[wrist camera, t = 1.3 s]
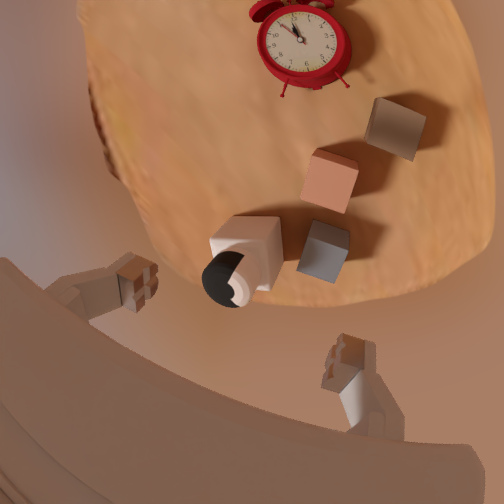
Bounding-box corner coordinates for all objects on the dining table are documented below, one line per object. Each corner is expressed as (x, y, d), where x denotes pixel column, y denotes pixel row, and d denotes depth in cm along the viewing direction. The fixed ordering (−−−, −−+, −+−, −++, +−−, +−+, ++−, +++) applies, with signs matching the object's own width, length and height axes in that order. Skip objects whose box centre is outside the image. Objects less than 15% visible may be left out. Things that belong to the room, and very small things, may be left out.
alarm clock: (267, 104, 26) (222, -15, 17) (278, 94, 30) (241, -7, 21) (365, 89, 22) (323, -40, 12) (359, 82, 26) (325, -25, 17)
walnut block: (374, 98, 24) (380, 97, 20) (414, 115, 24) (426, 117, 20) (364, 138, 27) (367, 143, 23) (403, 153, 26) (412, 161, 22)
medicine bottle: (238, 259, 42) (202, 310, 32) (230, 215, 38) (187, 259, 29) (284, 261, 39) (259, 319, 30) (280, 215, 36) (250, 264, 26)
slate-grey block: (313, 218, 35) (307, 236, 31) (349, 231, 34) (348, 250, 30) (303, 250, 37) (296, 270, 33) (336, 262, 37) (334, 283, 32)
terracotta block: (316, 148, 30) (311, 155, 26) (357, 161, 29) (358, 171, 25) (306, 185, 33) (300, 199, 29) (344, 198, 32) (344, 213, 28)
